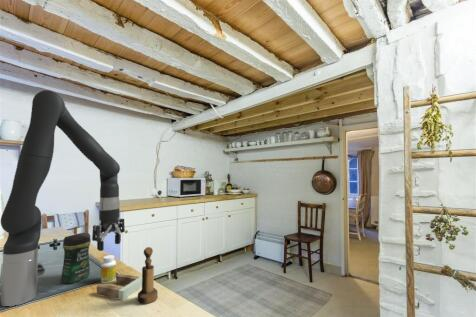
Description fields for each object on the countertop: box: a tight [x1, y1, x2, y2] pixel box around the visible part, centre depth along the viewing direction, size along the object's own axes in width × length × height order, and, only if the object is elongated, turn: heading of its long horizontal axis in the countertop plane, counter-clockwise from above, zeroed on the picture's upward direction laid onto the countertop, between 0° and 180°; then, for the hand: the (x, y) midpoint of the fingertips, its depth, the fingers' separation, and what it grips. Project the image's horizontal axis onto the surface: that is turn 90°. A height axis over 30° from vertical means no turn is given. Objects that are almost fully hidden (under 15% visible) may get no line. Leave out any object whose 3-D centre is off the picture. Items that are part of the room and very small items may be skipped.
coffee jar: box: [60, 232, 92, 284], centre depth 101 cm, size 10×8×19 cm
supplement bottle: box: [100, 254, 117, 284], centre depth 99 cm, size 5×5×10 cm
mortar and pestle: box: [137, 246, 159, 305], centre depth 85 cm, size 7×6×18 cm
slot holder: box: [96, 273, 142, 300], centre depth 92 cm, size 12×11×3 cm
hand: (109, 247), depth 100 cm, fingers open, 8 cm apart
